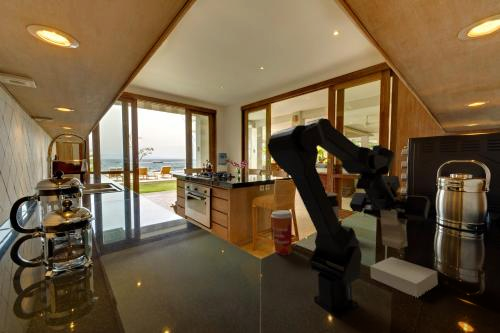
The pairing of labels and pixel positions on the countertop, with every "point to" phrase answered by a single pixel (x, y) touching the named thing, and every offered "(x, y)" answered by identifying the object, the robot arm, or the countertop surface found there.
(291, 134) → the robot arm
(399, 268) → the base slab
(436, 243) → the countertop surface
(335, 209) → the travel mug
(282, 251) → the paper cup
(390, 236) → the oak post
